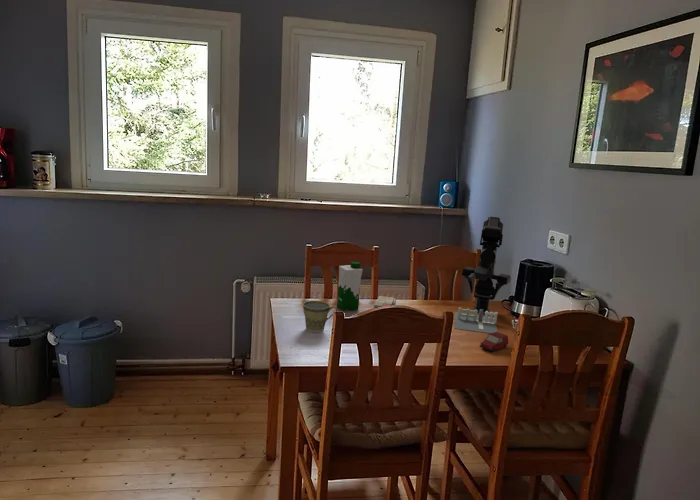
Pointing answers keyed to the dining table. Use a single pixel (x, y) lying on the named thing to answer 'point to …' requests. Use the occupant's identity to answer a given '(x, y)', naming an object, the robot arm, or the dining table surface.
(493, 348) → the red toy car
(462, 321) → the mat
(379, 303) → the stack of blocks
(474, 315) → the hinged fence panel
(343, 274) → the milk carton
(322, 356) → the dining table surface
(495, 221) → the robot arm
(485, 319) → the fixed fence panel
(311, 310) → the ceramic cup
